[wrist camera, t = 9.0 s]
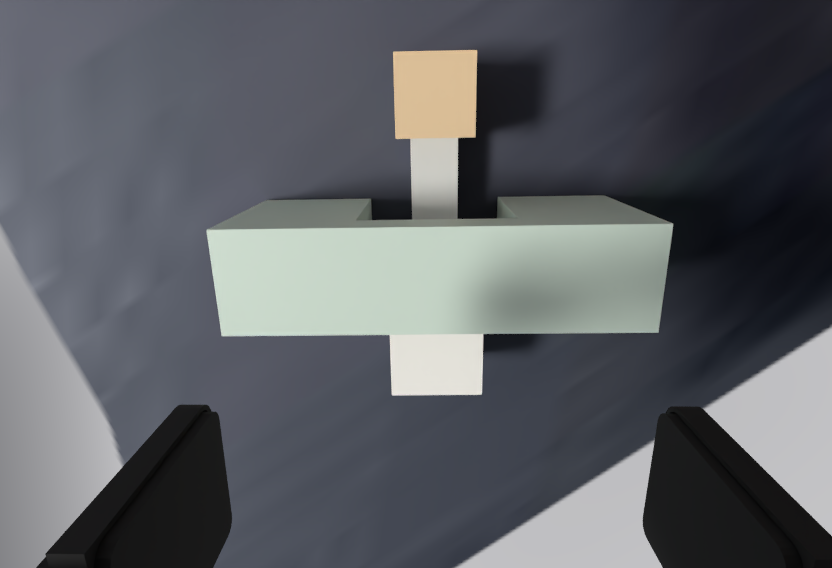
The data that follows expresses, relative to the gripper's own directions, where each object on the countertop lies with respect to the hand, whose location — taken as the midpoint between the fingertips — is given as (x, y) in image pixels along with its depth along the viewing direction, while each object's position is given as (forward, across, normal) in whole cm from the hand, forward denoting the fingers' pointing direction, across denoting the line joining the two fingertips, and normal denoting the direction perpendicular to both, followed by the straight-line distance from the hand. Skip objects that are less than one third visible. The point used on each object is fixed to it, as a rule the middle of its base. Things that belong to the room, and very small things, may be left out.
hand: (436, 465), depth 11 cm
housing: (+15, 0, -2) cm, 15 cm away
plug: (+15, 0, -3) cm, 15 cm away
